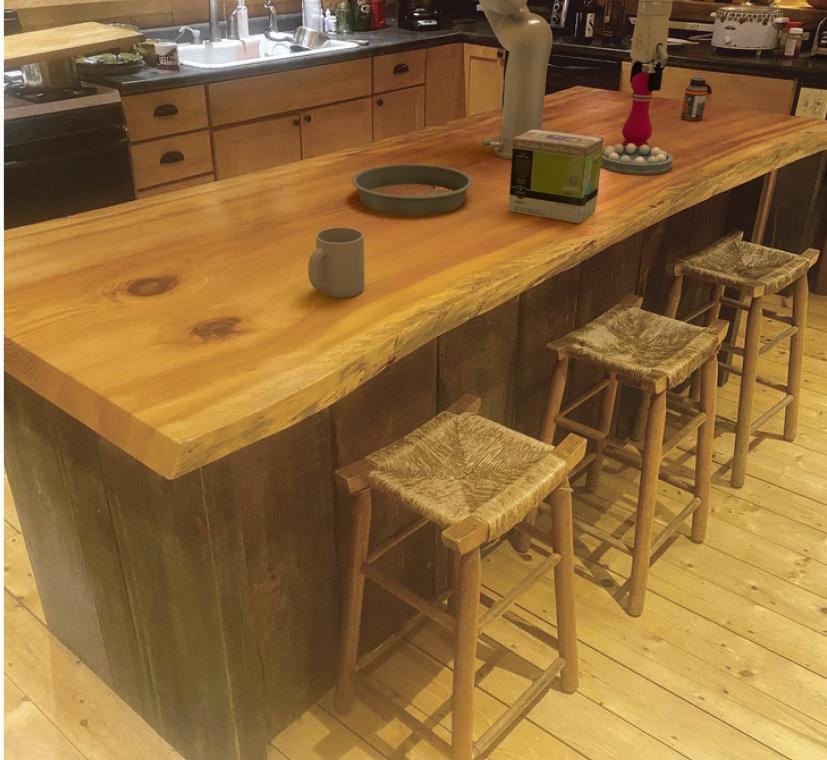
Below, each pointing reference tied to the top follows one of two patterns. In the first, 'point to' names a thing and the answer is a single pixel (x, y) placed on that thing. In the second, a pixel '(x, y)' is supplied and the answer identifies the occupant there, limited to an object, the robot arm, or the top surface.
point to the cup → (338, 262)
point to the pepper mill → (639, 111)
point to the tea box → (555, 175)
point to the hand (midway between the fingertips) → (644, 86)
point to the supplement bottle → (694, 100)
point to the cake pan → (412, 175)
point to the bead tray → (634, 166)
